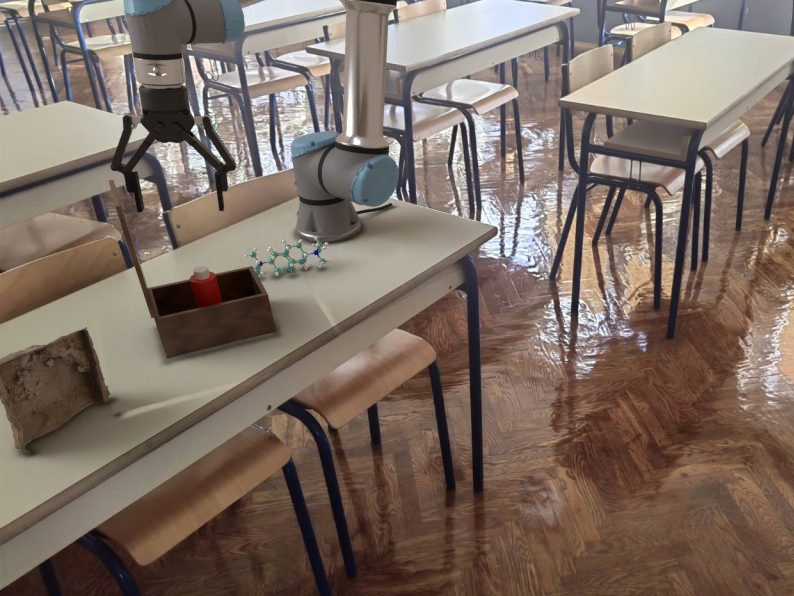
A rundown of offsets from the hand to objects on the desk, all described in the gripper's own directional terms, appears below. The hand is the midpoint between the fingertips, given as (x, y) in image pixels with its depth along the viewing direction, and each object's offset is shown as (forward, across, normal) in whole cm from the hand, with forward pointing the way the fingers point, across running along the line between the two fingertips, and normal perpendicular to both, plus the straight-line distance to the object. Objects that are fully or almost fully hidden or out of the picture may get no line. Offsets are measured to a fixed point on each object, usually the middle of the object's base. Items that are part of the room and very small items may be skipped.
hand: (181, 209), depth 137 cm
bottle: (+22, +3, -3) cm, 23 cm away
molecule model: (+20, +18, +18) cm, 33 cm away
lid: (+5, -8, -7) cm, 11 cm away
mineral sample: (+27, -19, -27) cm, 42 cm away
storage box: (+23, +3, -3) cm, 24 cm away
